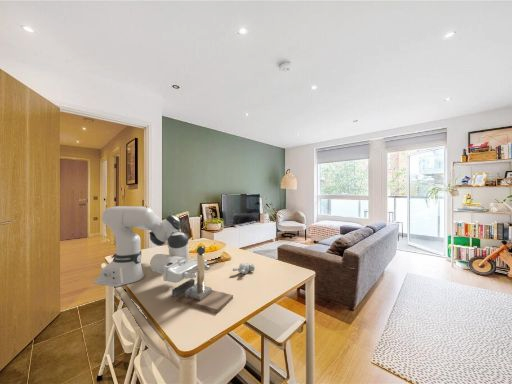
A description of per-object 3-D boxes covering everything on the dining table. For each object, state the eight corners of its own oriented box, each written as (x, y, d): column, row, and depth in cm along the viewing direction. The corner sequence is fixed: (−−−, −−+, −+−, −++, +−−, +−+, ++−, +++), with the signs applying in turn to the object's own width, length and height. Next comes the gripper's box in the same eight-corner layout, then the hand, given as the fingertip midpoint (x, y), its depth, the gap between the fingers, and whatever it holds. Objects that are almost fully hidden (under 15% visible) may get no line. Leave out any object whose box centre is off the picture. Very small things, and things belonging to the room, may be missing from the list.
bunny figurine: (258, 263, 123) (244, 268, 110) (257, 271, 122) (244, 277, 109) (245, 260, 128) (231, 264, 115) (244, 268, 127) (230, 274, 114)
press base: (171, 299, 88) (171, 289, 88) (190, 287, 99) (190, 278, 99) (217, 313, 78) (217, 301, 78) (232, 298, 89) (233, 288, 89)
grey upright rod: (185, 297, 86) (185, 247, 86) (200, 287, 95) (200, 242, 95) (198, 301, 83) (199, 250, 83) (212, 290, 93) (213, 244, 92)
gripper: (193, 266, 104) (216, 270, 98) (160, 282, 85) (186, 289, 80) (193, 253, 104) (216, 257, 98) (160, 267, 85) (186, 273, 79)
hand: (202, 271), depth 89 cm, fingers open, 8 cm apart
